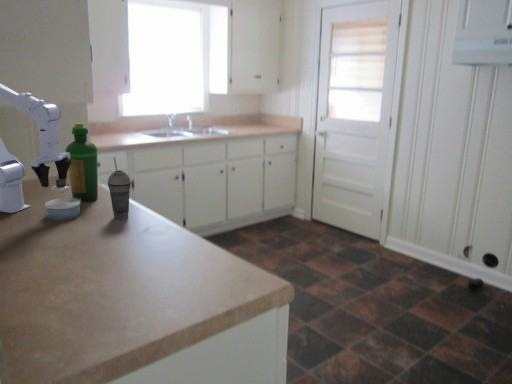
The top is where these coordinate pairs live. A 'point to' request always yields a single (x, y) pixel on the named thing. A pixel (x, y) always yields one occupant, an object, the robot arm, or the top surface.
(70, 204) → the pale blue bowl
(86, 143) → the bottle
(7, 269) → the top surface
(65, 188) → the knobbed lid
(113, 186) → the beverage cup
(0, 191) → the robot arm
